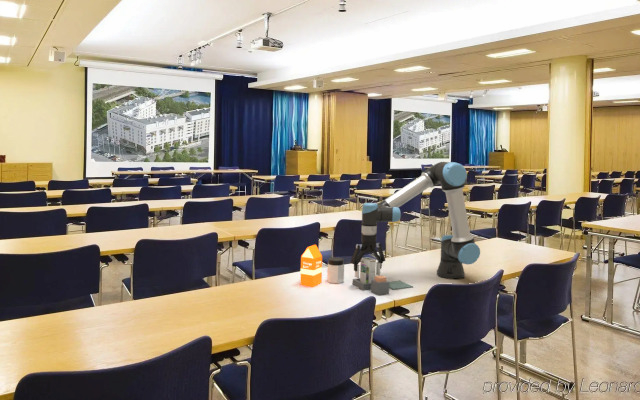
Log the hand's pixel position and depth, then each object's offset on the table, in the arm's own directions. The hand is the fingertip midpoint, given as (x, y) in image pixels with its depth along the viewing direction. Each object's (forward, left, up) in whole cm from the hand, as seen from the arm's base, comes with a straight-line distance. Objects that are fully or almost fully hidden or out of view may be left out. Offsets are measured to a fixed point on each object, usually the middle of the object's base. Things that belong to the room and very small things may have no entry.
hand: (367, 276), depth 245 cm
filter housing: (0, +5, -5) cm, 7 cm away
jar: (+11, -14, -5) cm, 19 cm away
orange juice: (+25, -14, -5) cm, 29 cm away
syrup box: (0, 0, -5) cm, 5 cm away
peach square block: (0, +12, -1) cm, 12 cm away
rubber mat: (-15, +4, -5) cm, 16 cm away
